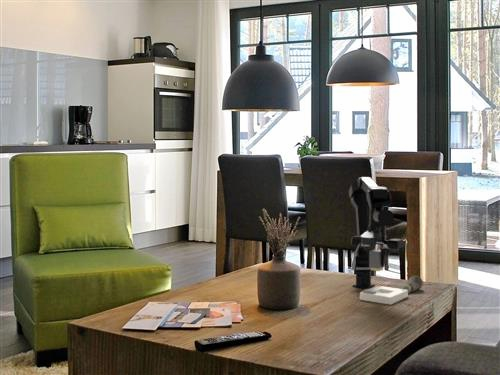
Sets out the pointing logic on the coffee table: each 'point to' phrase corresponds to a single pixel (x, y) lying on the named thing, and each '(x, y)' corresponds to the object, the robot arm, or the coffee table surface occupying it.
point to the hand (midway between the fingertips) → (377, 265)
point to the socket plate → (383, 294)
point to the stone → (413, 284)
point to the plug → (375, 260)
